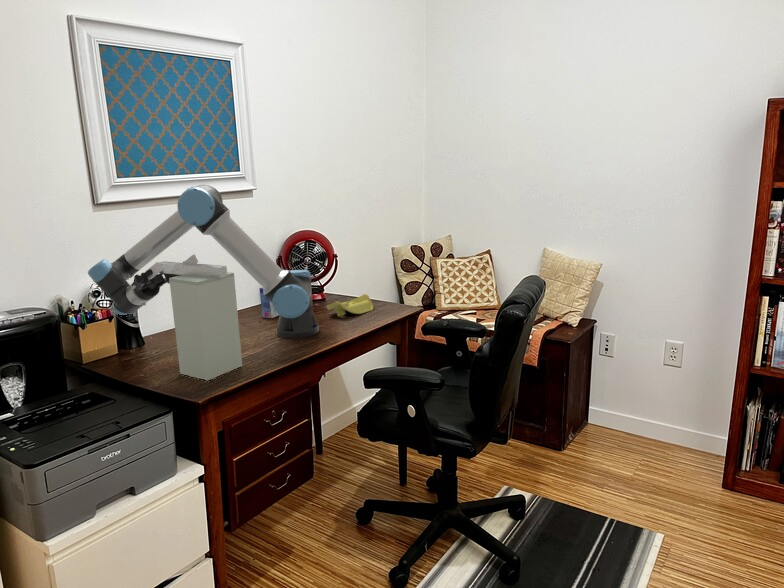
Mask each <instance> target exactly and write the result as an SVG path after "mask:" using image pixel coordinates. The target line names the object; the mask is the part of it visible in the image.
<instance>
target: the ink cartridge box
mask: <svg viewBox="0 0 784 588" xmlns="http://www.w3.org/2000/svg"><path fill="white" fill-rule="evenodd" d="M259 297H260V305H261V306H260V307H261V315H262V317H263V318H266V319H267V318H268V319H273V318H276V317H278V316H279V317H280V315H279V314H278V313H277V312H276V311H275V309H274V307H273V303H272V302H271V301H270V300H269V299H268V298H267V297H266V296H265V295H264V294H263V287H262V286H261V287H259Z"/></svg>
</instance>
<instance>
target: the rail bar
mask: <svg viewBox="0 0 784 588" xmlns="http://www.w3.org/2000/svg"><path fill="white" fill-rule="evenodd" d="M158 263H159V265H160V267H161V269H162V271H161V272H159V273H158V274H160V273H166V274H178V275H191V276H203V277H215V278H222V277H225V276H227V272H228V268H227V265H221V264H219V265H218V264H206V263H197V264H194V263H183V262H176V261H167V260H166V261H165V260H164V261H158Z"/></svg>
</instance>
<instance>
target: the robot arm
mask: <svg viewBox="0 0 784 588" xmlns="http://www.w3.org/2000/svg"><path fill="white" fill-rule="evenodd" d="M223 201H224V200H223V197H222V194H221V193H220V191H219V190H217V189H216V188H215V187H214V186H211V185H210V184H200V185H197V186H190V187H188V188H186V190H184V191H183V192H182V193H181V194H180V196H179V198H178V200H177V210H176V211H174V213H173V214H171V215H170V216H168V218H167V219H165V220H164V221H163V222H160V224H159V225H158V226H157V227H155V228H154V229H153V230H152V231H150V232H149V233H148V234H147V235H145V236H144V237H143V238H141V239H140V240H139V241H138V242H137V243H135V245H133V246H132V247H130V248H129V249H127V251H126V252H125V253H123V254H122V255H120V257H118V258H117V259H115V260H114V261H113V262H110V261H109V260H108V259H104V258H103V259H101V260H100V261H98V262H97V263H96V264H94V265H93V266H92V267H91V268H89V270H88V271H87V274H88V276H89V277H90V279H91V280H92V282H93V283H94V284H96V285H97V286H98V288H100V289H101V291H103V293H104V294H106V296H107V297H109V299H110V301H111V302H112V301H113V302H114V311H115V313H116V314H115V313H114V314H115V315H117V316H118V314H119V315H127V314H131V315H132V314H134V313H136V312H137V311H138V310H139V309H140V308H141V307H143V306H146V305H147V303H148V302H149V301H150V300H152V299H154V297H156V296H157V295H159V293H160V291H161V287H162V286H164V285H165V284H168V285H170V281H169V278H172V277H176V276H180V275H178V274H166V273H159V272H161V271H162V269H161V267H160V265H159V261H157V262H155V263H154V264H152V265H151V266H150V267H148V269H146V270H145V272H142V273H140V275H139V274H137V273H138V272H140V270H142V269H143V268H144V267H146V266H147V265H148V264H149V263H150V262H152V261H153V260H154V259H155V258H157V257H158V256H159V255H161V254H162V253H163V252H164V251H165V250H167V249H168V248H169V247H170V246H172V245H173V244H174V243H176V241H178V240H180V238H181V237H183V236H184V235H185V234H187V233H188V232H189V231H190V230H192V229H193V228H194V227H195V228H196V229H197V230H198V231H199V232H200V233H201V234H202V235H203V236H211V237H212V239H214V240H215V241H216V243H218V244H219V245H220V247H222V248H223V249H224V251H226V252H227V253H228V254H229V255H230V256H231V257H232V258H233V259H234V260H235V261H236V262H237V263H238V264H239V266H241V267H242V268H243V269H244V270H245V271H246V273H248V274H249V275H250V276H251V277H252V278H253V279H254V280H255V281H256V282H257V283H258V284H259V285H260V286H261V287H263V294H264V295H265V296H266V297H267V298H268V299H269V300H270V301H271V302H272V303H273V307H274V309H275V311H276V312H277V313H278V314H279V317H278V320H277V326H276V335H277V336H278V337H281V338H284V339H304V338H310V337H312V336H315V335H316V334H318V333H319V331H320V329H319V323H318V321H317V318H316V315H315V313H314V310H313V295H312V294H313V293H312V277H311V272H310V271H309V270H307V269H294V270H293V269H291V270H290V269H289V270H288V269H282V268H281V267H280V266H279V265H278V264H277V263H276V262H275V261H274V260H273V259H272V258H271V257H270V256H269V255H268V254H267V253H266V252H265V251H264V250H263V249H262V248H261V246H259V245H258V244H257V243H256V242H255V241H254V240H253V239H252V238H251V237H250V236H249V235H248V234H247V233H246V232H245V231H244V229H242V228H241V227H240V226H239V225H238V224H237V223H236V222H235V221H234V220H233V218H231V216H230V214H231V213H230V211H231V210H230V209H229V208H228V207H227V206H226V205H225V204H224V203H223ZM182 263H194V264H199V260H198V258H197V257H196V254H194V253H193V254H192V255H190V256H189V257H188V258H187V259H186V260H184V261H182ZM129 278H130V279H132V278H133V282H131V284H130V283H129V282H128V280H130V279H129Z"/></svg>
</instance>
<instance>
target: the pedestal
mask: <svg viewBox="0 0 784 588" xmlns="http://www.w3.org/2000/svg"><path fill="white" fill-rule="evenodd" d="M169 281H170V283H169V291H170V297H171V305H172V306H171V307H172V315H173V323H174V331H175V341H176V350H177V357H178V358H177V359H178V366H179V367H178V368H179V374H180V373H181V374H185V375H189V376H193V377H197V378H201V379H205V380H209V379H211V378H213V377H216V376H218V375H220V374H222V373H225V372H227V371H230V370H232V369H235V368H237V367H240V366H242V367H243V359H242V358H243V357H242V348H241V347H242V345H241V337H240V325H239V314H238V313H239V312H238V304H237V303H238V302H237V293H236V283H235V282H236V279H235V272H233V271H231V272H230V271H227V276H225V277H222V278H215V277H203V276H191V275H180V276H176V277H172V278H169Z"/></svg>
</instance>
